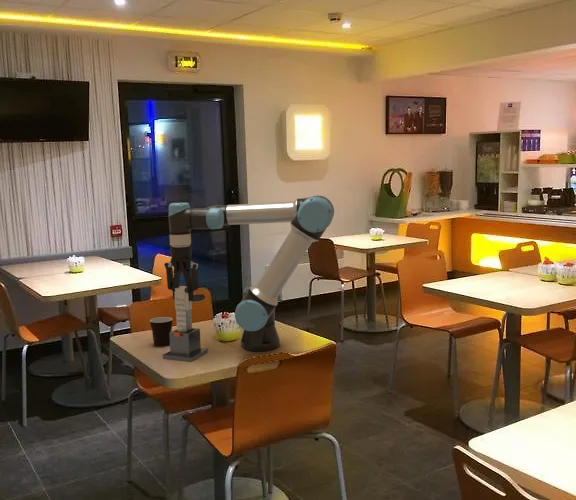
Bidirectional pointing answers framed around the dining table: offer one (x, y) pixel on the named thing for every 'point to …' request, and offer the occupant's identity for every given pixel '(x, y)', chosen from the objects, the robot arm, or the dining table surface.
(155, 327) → the coffee mug
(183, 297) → the column
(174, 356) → the stand base
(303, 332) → the dining table surface
